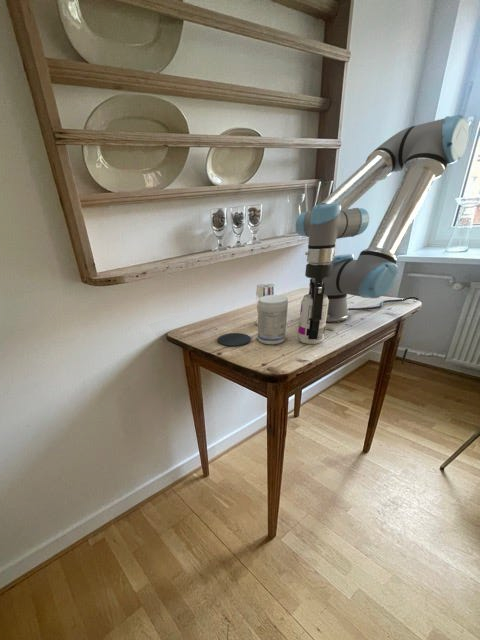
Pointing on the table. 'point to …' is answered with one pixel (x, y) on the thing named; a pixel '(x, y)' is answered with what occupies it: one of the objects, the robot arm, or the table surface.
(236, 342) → the coaster
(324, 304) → the supplement can
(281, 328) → the supplement tub
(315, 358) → the table surface
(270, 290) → the beer glass
